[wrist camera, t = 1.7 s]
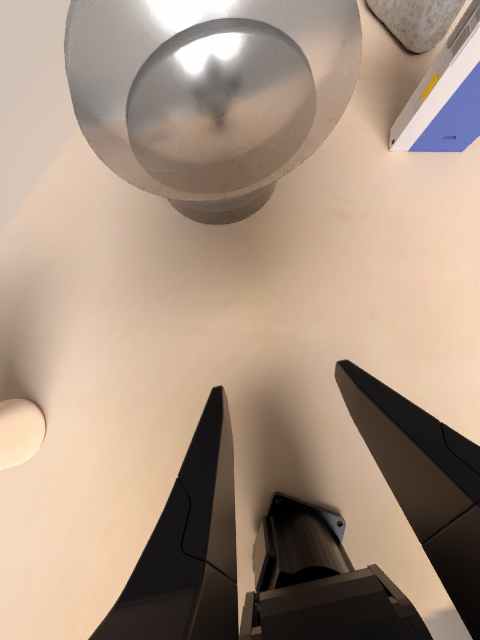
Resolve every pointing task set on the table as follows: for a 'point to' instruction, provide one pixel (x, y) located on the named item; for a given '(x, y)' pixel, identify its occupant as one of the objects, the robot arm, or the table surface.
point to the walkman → (445, 96)
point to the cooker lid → (209, 87)
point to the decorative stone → (417, 20)
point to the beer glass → (19, 431)
